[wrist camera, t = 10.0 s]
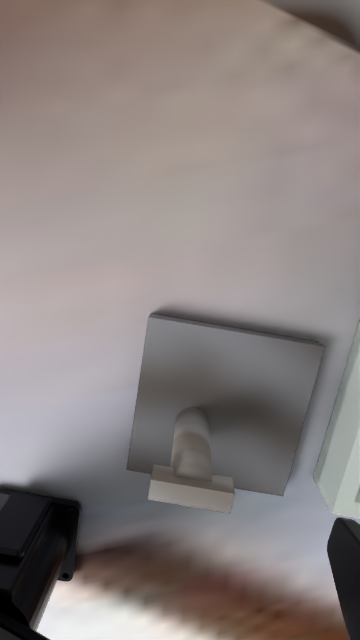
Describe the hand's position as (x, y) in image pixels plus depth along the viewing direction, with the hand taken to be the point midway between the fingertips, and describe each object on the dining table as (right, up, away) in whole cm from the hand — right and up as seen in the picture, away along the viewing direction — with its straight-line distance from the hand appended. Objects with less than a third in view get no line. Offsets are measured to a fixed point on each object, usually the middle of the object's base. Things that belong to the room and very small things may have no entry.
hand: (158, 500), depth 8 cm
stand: (+3, -1, +12) cm, 13 cm away
